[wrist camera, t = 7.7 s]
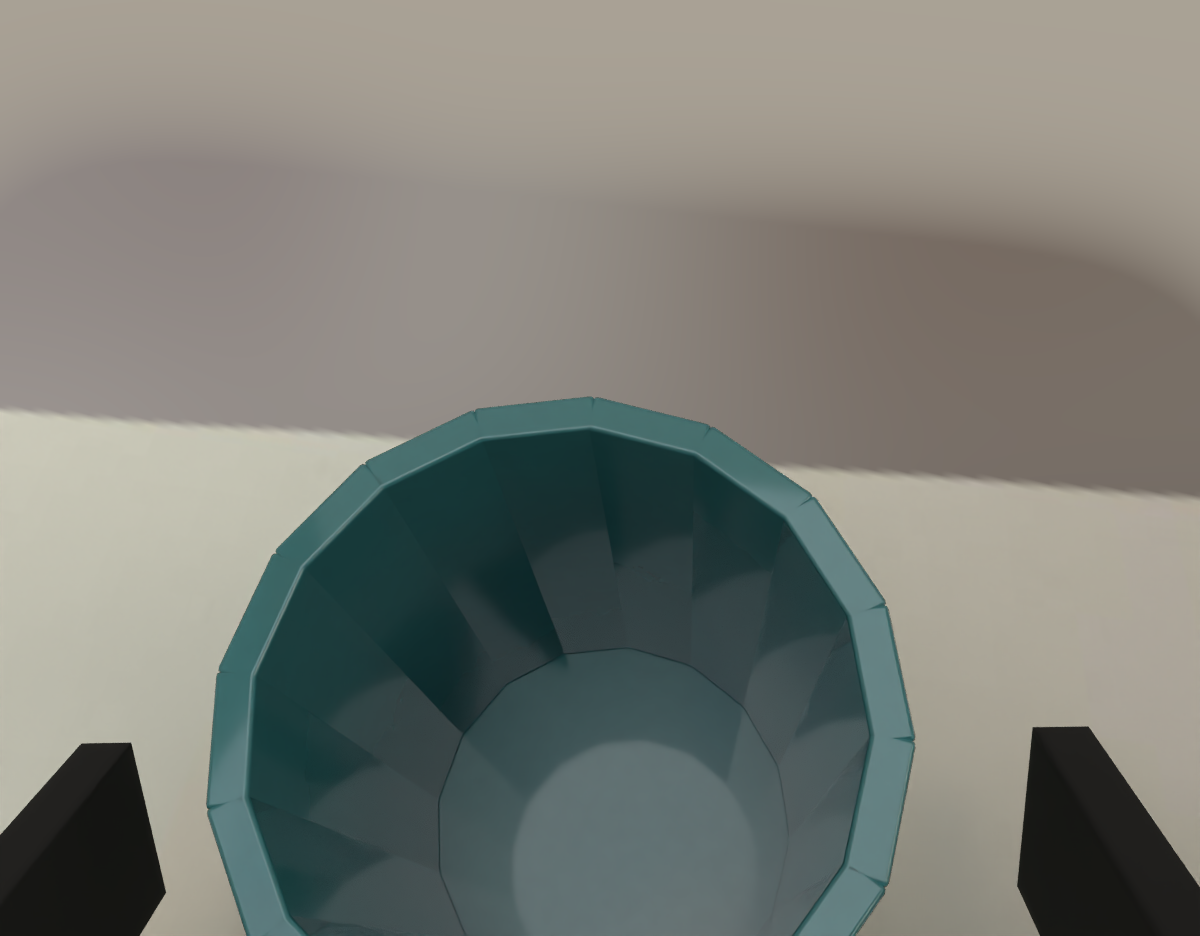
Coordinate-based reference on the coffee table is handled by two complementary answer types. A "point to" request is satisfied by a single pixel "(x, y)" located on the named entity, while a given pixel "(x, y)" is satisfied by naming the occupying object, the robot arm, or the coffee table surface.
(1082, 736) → the robot arm
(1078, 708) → the coffee table surface
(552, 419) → the pot
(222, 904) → the coffee table surface
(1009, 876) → the coffee table surface
